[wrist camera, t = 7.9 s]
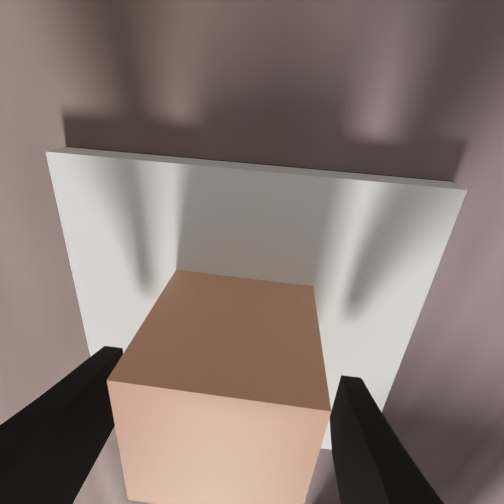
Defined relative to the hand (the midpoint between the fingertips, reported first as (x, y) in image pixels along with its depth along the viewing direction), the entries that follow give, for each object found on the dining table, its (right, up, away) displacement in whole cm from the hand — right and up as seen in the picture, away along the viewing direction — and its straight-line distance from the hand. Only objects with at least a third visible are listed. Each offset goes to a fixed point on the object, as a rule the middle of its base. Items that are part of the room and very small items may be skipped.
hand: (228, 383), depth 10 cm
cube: (0, +1, +2) cm, 2 cm away
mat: (0, +1, +3) cm, 3 cm away
